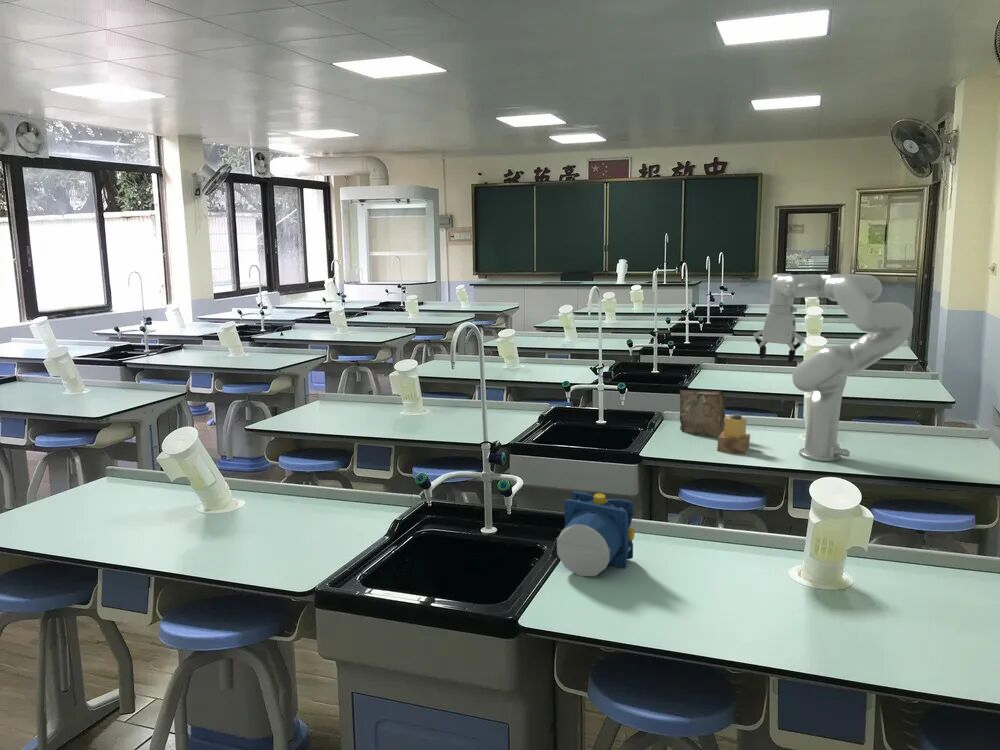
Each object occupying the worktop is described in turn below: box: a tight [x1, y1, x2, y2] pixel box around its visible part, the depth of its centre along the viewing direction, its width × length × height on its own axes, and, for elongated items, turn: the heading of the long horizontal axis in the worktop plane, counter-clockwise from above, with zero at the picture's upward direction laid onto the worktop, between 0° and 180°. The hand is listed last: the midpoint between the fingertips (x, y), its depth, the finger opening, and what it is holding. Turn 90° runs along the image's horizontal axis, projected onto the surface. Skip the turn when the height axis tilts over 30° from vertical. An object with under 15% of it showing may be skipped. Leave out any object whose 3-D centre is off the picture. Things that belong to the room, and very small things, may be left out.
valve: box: [556, 490, 636, 577], centre depth 171 cm, size 13×15×15 cm
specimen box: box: [716, 431, 751, 456], centre depth 265 cm, size 9×9×5 cm
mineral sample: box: [679, 389, 726, 439], centre depth 283 cm, size 18×4×16 cm, turn 59°
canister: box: [724, 413, 747, 439], centre depth 264 cm, size 5×5×7 cm
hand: (776, 359), depth 274 cm, fingers open, 9 cm apart
